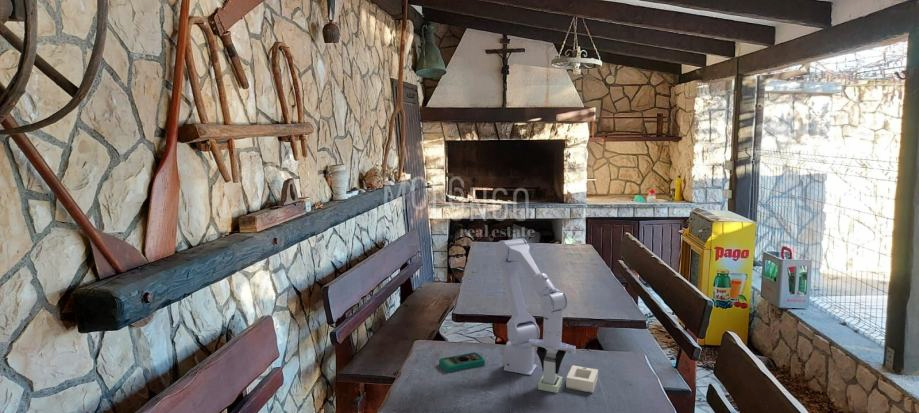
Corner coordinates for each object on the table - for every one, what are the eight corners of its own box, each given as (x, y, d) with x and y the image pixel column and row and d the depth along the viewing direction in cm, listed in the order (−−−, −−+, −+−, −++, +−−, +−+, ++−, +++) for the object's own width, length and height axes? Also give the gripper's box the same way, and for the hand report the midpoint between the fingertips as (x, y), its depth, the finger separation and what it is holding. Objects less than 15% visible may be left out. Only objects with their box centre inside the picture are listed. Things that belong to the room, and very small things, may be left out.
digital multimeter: (486, 366, 193) (486, 358, 193) (447, 374, 186) (447, 365, 186) (476, 358, 200) (476, 350, 199) (438, 365, 193) (438, 357, 193)
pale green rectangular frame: (537, 389, 176) (538, 383, 176) (543, 379, 183) (543, 373, 183) (557, 392, 174) (557, 386, 173) (562, 382, 181) (562, 376, 180)
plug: (543, 382, 176) (544, 358, 175) (546, 375, 181) (547, 352, 180) (554, 384, 175) (555, 360, 174) (557, 377, 180) (558, 354, 178)
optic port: (566, 387, 177) (566, 376, 176) (572, 375, 186) (572, 364, 185) (592, 393, 174) (593, 381, 173) (597, 379, 183) (598, 368, 182)
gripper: (526, 330, 175) (524, 372, 177) (573, 338, 169) (571, 380, 171) (532, 323, 181) (530, 363, 183) (577, 330, 176) (575, 371, 178)
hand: (550, 371), depth 178 cm, fingers closed on plug, 3 cm apart
